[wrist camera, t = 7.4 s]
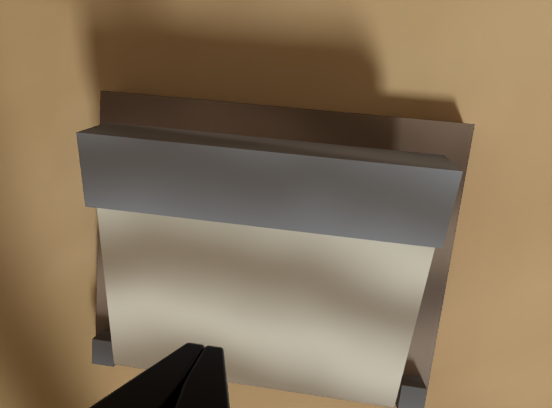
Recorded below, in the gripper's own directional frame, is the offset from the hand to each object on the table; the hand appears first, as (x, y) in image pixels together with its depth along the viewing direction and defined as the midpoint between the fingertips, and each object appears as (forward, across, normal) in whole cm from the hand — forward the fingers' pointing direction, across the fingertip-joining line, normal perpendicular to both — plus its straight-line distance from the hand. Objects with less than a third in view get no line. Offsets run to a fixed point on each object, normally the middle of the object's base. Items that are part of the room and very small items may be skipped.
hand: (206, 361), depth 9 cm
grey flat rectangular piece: (+9, 0, +2) cm, 9 cm away
